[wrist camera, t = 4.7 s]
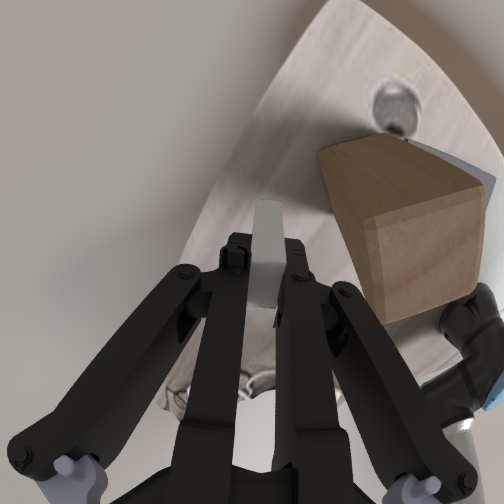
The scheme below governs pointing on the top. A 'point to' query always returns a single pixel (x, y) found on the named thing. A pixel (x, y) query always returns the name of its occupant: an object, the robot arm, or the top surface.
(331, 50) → the top surface
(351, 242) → the block
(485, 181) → the mat
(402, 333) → the top surface
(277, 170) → the top surface
